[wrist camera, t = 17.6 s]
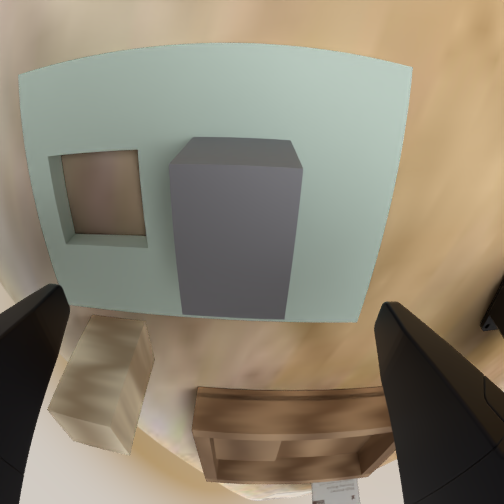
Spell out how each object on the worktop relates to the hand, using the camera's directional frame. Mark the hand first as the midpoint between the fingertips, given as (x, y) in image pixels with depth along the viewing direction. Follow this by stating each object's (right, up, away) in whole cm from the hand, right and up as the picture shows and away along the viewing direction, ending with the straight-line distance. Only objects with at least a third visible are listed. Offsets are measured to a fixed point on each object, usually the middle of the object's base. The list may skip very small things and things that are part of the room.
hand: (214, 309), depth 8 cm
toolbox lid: (-2, +4, +7) cm, 8 cm away
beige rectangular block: (-8, -5, +13) cm, 16 cm away
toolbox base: (+5, -15, +19) cm, 25 cm away
